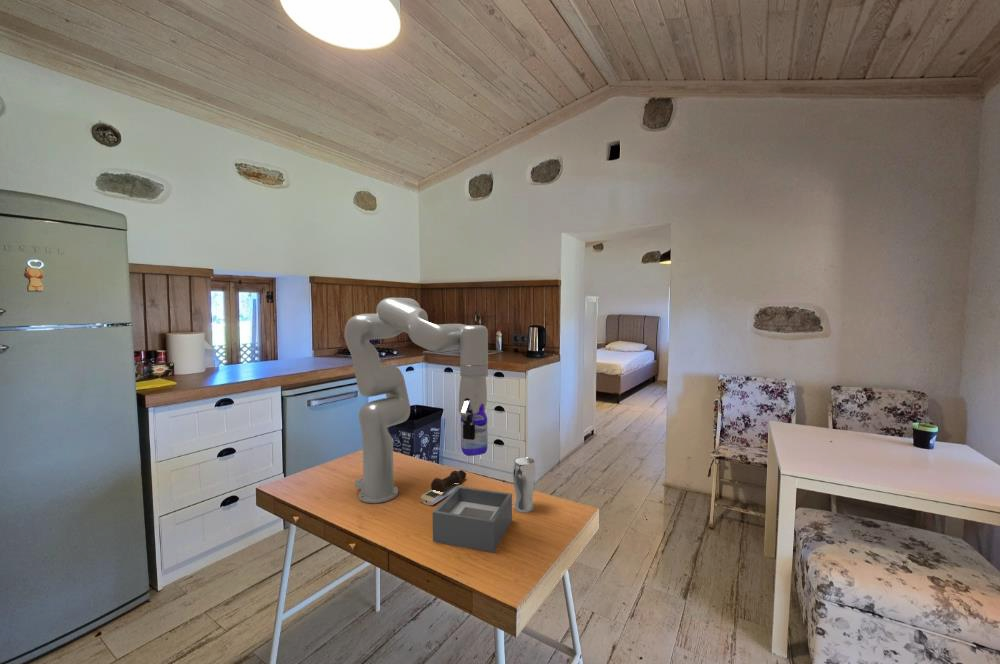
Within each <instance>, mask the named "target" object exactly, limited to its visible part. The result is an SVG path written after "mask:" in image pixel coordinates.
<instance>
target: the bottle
mask: <svg viewBox="0 0 1000 664" xmlns="http://www.w3.org/2000/svg"><path fill="white" fill-rule="evenodd" d="M468 413H472V411H468ZM469 417H470V419H471V416H469ZM462 422H463V421H462V417H461V416H460V447H461V452H462V453H463V455H465V456H467V457H474V456H481V455H484V454H486V453H487V452H488V451H487V450H488V446H489V445H488V444H489V443H488V438H489V437H488V416H487V413H486V412H485V410H484V405H483V403H482V404H481V406H480V408H479V412H478V413H477V414H475V418H474V425H475V439H474V440H469V439H463V424H462Z"/></svg>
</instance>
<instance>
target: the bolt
mask: <svg viewBox="0 0 1000 664" xmlns="http://www.w3.org/2000/svg"><path fill="white" fill-rule="evenodd" d="M466 477H467V473H466V472H465V471H464V470H461V469H460V470H452V471H451V472H450V475H448V476H447V477H445V478H438V477H435V478H434V479H433V481H432V482H431V484H430V487H431V491H432V490H436V491H440V492H444V491H445V492H446V490H447V489H448V488H449V487H451V485H452V484H453V485H455V484H454V483H460V484H461V483H462V481H463V480H465V479H466ZM453 485H452V486H453ZM447 487H448V488H447ZM445 492H444V493H445Z"/></svg>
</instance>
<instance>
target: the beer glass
mask: <svg viewBox="0 0 1000 664" xmlns="http://www.w3.org/2000/svg"><path fill="white" fill-rule="evenodd" d="M512 469H513V470H512V478H513V479H512V481H513V486H514V494H515V500H514V507H513V509H514V510H515V511H516V512H518V513H524V514H527V513H528V514H529V513H530V512H533V511H534V509H535V507H534V501H533V499H534V498H533V496H534V489H535V484H536V476H537V475H536V474H537V473H536V460H535V459H534V458H532V457H529V456H527V457H526V456H520V457H516V458H514V459H513V468H512Z"/></svg>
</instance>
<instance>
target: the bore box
mask: <svg viewBox="0 0 1000 664" xmlns="http://www.w3.org/2000/svg"><path fill="white" fill-rule="evenodd" d="M512 521H513V494H512V493H508V492H501V491H494V490H486V489H480V488H474V487H473V488H472V487H467V486H466V487H465V486H459V485H457V487H456V488H455V489H453V491H451V493H449V495H447V497H446V498H445V499H443V501H442V502H441V503H440V504H439V505H437V507H436V508H435V509H434V510H433V511H432V542H433V543H439V544H444V545H450V546H456V547H459V548H466V549H471V550H476V551H481V552H488V553H492V554H494V553H495V551H496V549H497V548H498V547H499V544H500V543H501V541H502V538H503V537H504V535H505V533H506V532H507V530H508V528H509V527H510V524H511V523H512Z"/></svg>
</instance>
